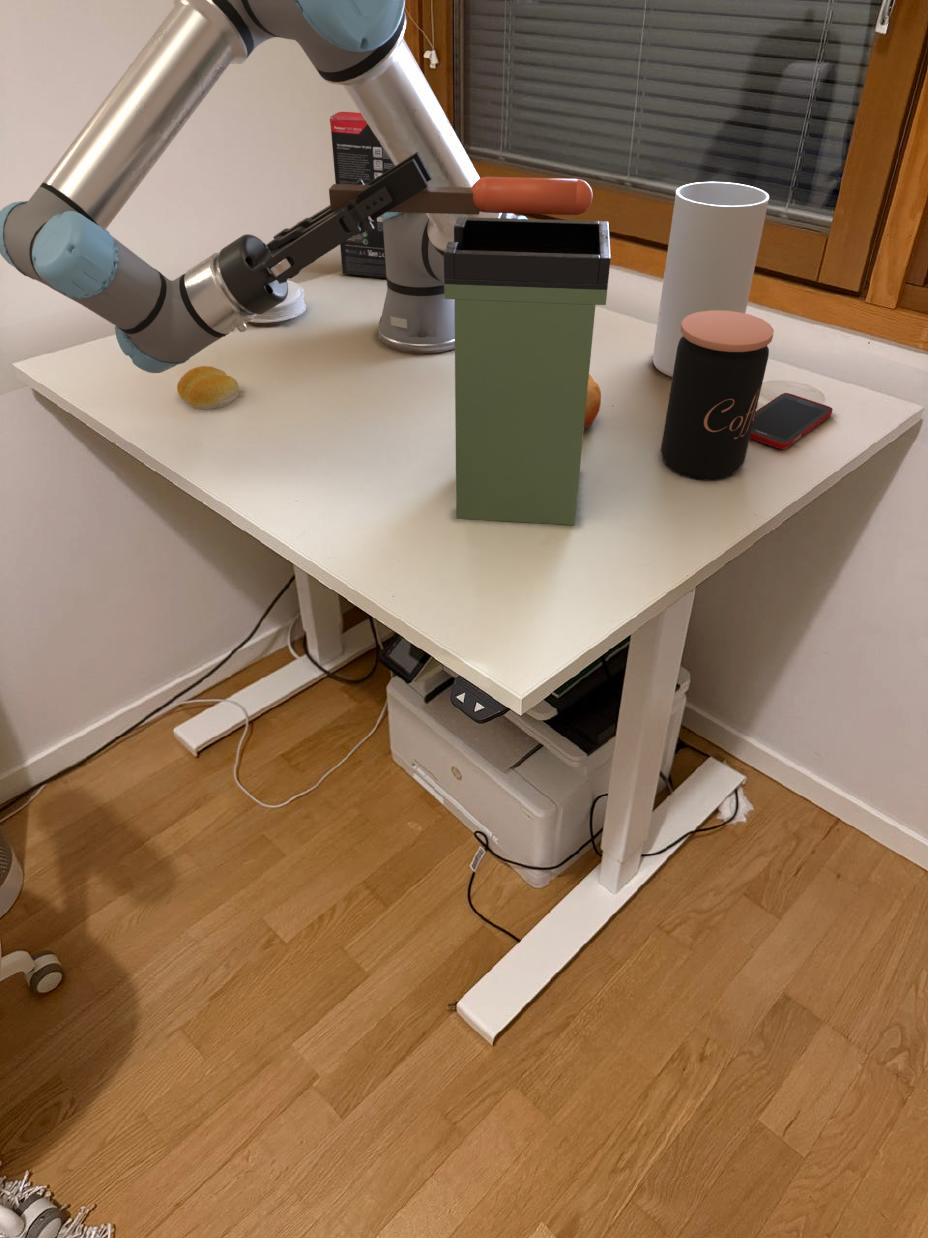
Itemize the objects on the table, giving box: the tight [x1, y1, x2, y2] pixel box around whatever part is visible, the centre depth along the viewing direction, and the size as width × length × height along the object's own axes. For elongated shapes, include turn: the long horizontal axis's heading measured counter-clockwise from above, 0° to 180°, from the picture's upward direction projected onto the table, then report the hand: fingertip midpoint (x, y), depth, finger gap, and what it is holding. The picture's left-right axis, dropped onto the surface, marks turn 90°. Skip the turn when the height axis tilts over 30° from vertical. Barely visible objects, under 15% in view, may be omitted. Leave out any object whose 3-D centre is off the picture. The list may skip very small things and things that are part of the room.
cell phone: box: [750, 392, 833, 450], centre depth 122 cm, size 8×15×1 cm, turn 137°
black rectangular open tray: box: [444, 217, 612, 291], centre depth 90 cm, size 16×12×3 cm
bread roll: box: [176, 365, 240, 410], centre depth 128 cm, size 8×9×4 cm
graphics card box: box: [329, 111, 395, 279], centre depth 161 cm, size 17×7×27 cm, turn 77°
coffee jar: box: [660, 310, 775, 481], centre depth 109 cm, size 11×11×18 cm
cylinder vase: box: [652, 181, 770, 378], centre depth 129 cm, size 12×12×25 cm
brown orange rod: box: [328, 176, 594, 216], centre depth 87 cm, size 26×3×3 cm, turn 84°
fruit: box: [584, 373, 602, 429], centre depth 121 cm, size 8×8×8 cm
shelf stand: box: [444, 284, 608, 526], centre depth 99 cm, size 16×12×28 cm
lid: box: [248, 279, 307, 324], centre depth 152 cm, size 13×13×5 cm
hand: (422, 169), depth 86 cm, fingers closed on brown orange rod, 2 cm apart
